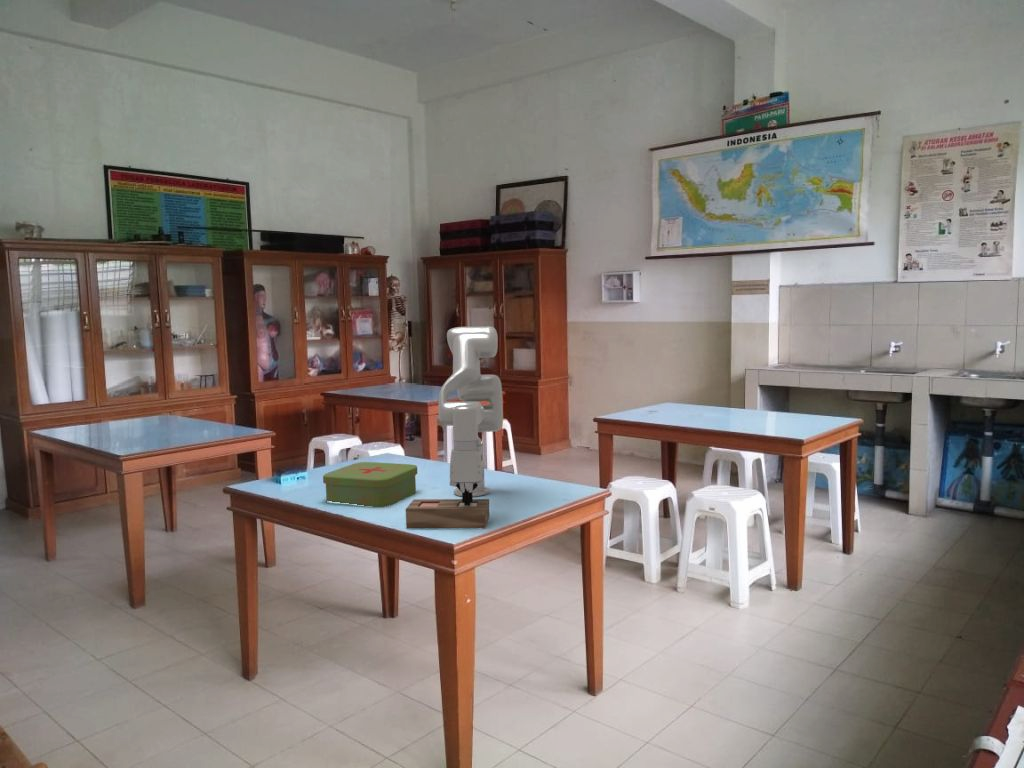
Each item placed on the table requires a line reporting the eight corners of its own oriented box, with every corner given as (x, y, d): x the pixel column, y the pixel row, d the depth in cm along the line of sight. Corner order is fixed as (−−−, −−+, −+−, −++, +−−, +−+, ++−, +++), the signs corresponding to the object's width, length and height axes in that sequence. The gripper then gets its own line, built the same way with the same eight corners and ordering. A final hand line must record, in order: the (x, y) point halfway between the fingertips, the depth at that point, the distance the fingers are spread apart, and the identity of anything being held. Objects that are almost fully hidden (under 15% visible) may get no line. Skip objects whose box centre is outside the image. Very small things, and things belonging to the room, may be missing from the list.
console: (414, 517, 241) (413, 499, 240) (489, 517, 239) (489, 499, 238) (406, 528, 229) (405, 509, 228) (485, 528, 227) (484, 508, 226)
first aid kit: (360, 487, 287) (359, 461, 286) (422, 491, 278) (421, 464, 277) (319, 504, 263) (318, 475, 262) (385, 509, 253) (384, 479, 252)
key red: (422, 517, 237) (422, 503, 237) (439, 517, 237) (439, 503, 236) (419, 522, 232) (418, 507, 231) (436, 522, 231) (436, 507, 231)
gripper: (491, 443, 234) (493, 501, 236) (443, 443, 236) (445, 501, 237) (488, 447, 227) (490, 507, 229) (439, 448, 228) (441, 507, 230)
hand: (467, 504), depth 233 cm, fingers closed
